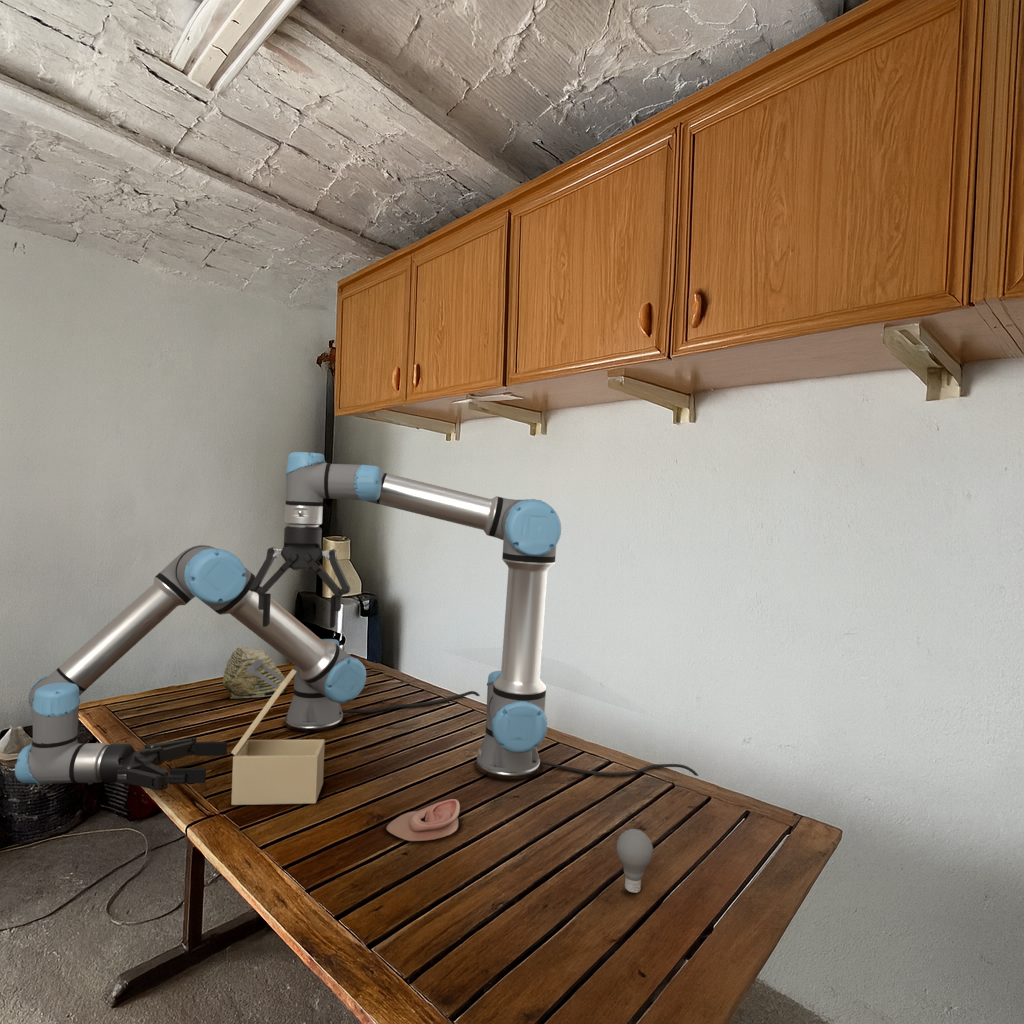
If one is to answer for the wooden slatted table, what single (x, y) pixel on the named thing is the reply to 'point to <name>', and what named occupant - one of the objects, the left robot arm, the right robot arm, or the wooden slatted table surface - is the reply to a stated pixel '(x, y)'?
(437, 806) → the anatomical model
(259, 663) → the lid
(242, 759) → the chest
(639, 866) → the light bulb
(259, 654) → the fossil
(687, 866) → the wooden slatted table surface
